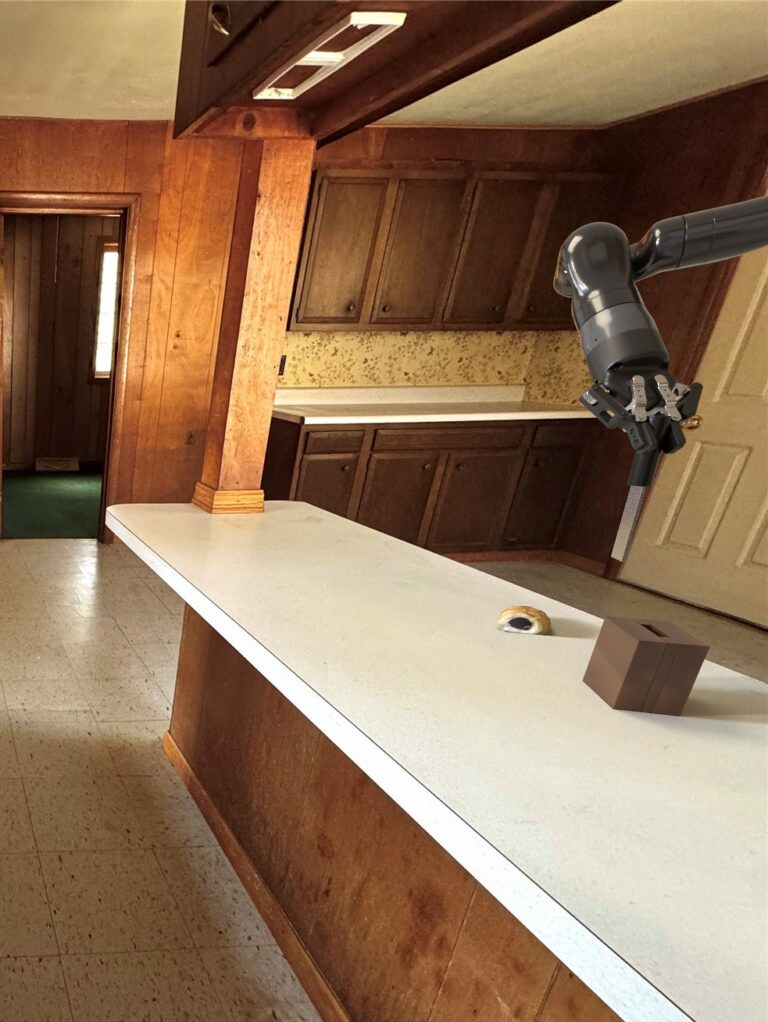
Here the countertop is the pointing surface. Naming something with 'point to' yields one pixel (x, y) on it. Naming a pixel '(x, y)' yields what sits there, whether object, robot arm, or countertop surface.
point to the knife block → (644, 665)
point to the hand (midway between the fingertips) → (661, 450)
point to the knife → (639, 485)
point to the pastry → (524, 620)
